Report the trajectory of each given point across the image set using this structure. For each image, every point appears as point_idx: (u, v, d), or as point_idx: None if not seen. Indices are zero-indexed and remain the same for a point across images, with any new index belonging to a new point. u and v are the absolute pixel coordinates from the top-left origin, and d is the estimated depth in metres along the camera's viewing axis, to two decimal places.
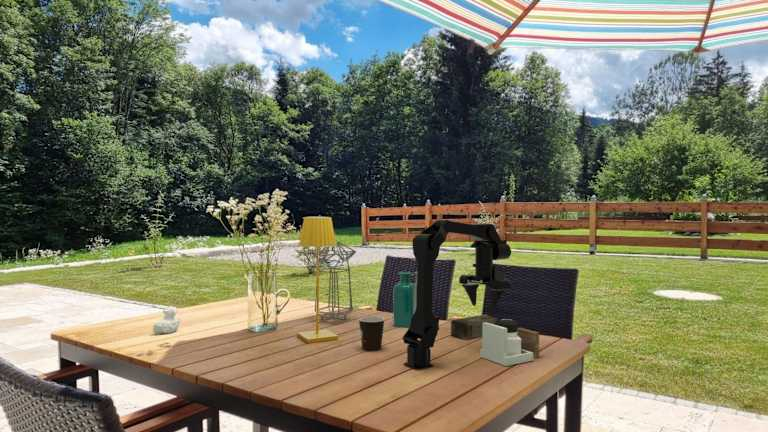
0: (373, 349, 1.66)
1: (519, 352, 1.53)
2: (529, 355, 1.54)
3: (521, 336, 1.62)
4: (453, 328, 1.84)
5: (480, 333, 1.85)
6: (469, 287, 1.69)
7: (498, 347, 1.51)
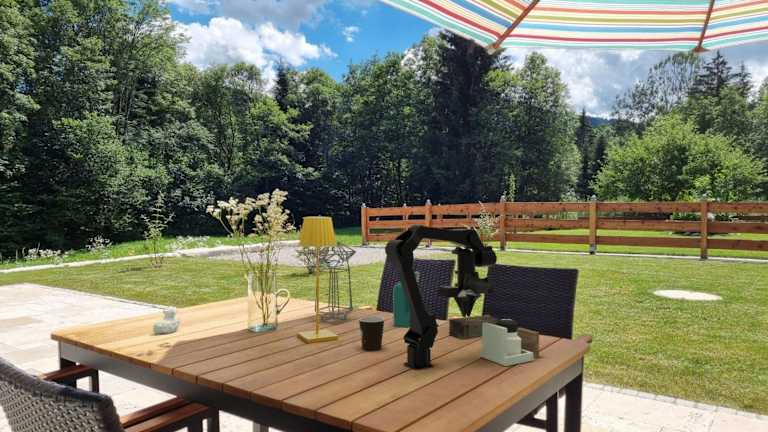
0: (373, 349, 1.66)
1: (519, 352, 1.53)
2: (529, 355, 1.54)
3: (521, 336, 1.62)
4: (451, 327, 1.86)
5: (478, 333, 1.85)
6: (465, 296, 1.61)
7: (498, 348, 1.51)
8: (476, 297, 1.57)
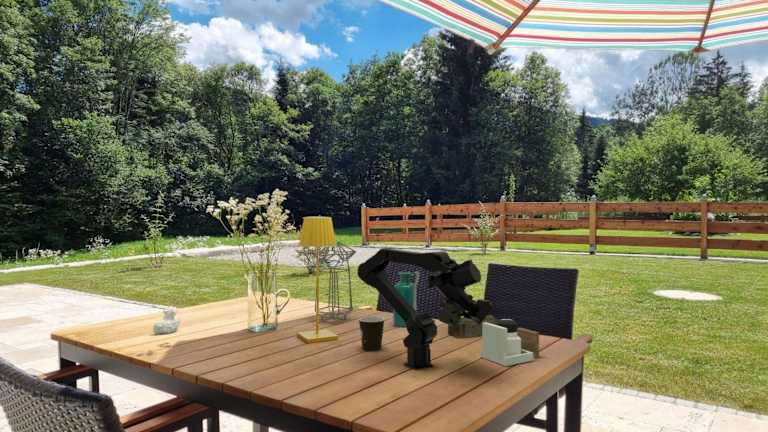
0: (373, 349, 1.66)
1: (519, 352, 1.53)
2: (529, 355, 1.54)
3: (521, 336, 1.62)
4: (449, 326, 1.88)
5: (476, 333, 1.85)
6: None
7: (498, 348, 1.51)
8: None
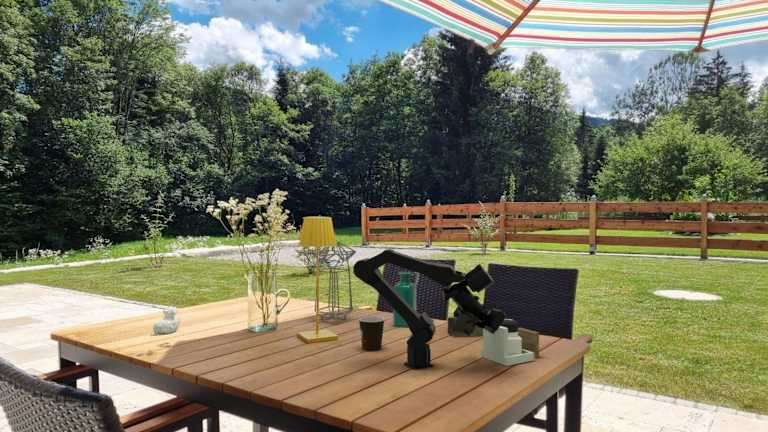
0: (373, 349, 1.66)
1: (520, 352, 1.53)
2: (530, 355, 1.54)
3: (521, 336, 1.62)
4: (448, 325, 1.89)
5: (474, 333, 1.85)
6: None
7: (499, 347, 1.52)
8: None
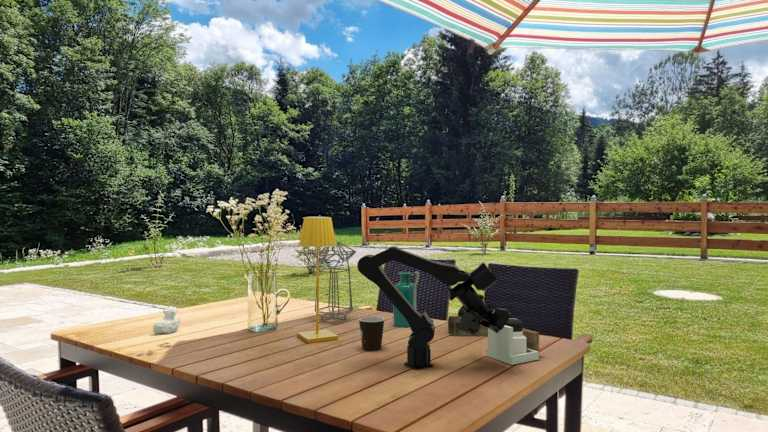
0: (373, 349, 1.66)
1: (524, 351, 1.54)
2: (534, 354, 1.55)
3: None
4: None
5: None
6: None
7: (504, 346, 1.53)
8: None
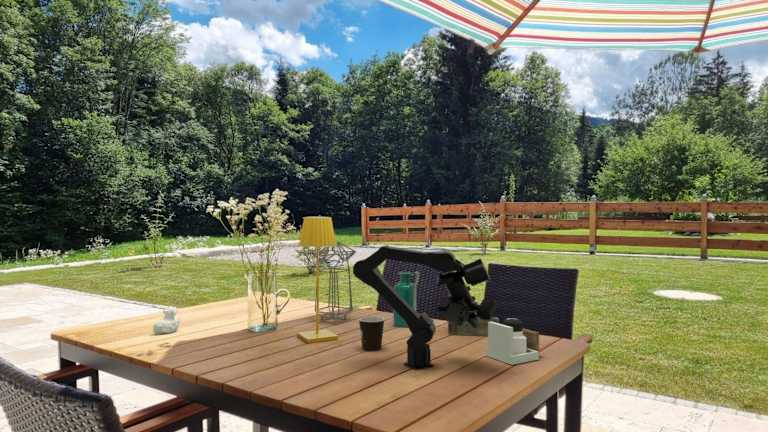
0: (373, 349, 1.66)
1: (524, 351, 1.54)
2: (534, 354, 1.55)
3: None
4: None
5: (470, 332, 1.86)
6: None
7: (504, 346, 1.53)
8: (468, 318, 1.50)
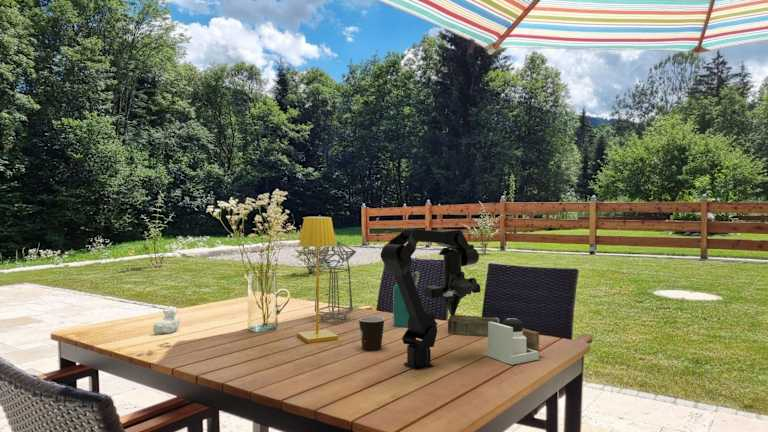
0: (373, 349, 1.66)
1: (524, 351, 1.54)
2: (534, 354, 1.55)
3: None
4: None
5: (469, 332, 1.87)
6: None
7: (504, 346, 1.53)
8: (460, 297, 1.59)
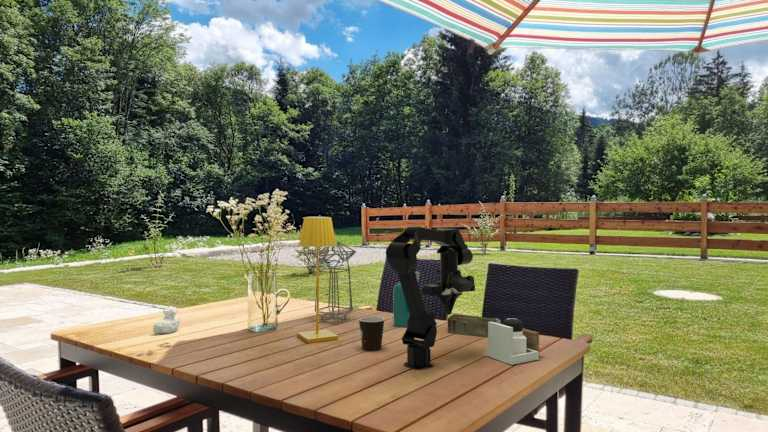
0: (373, 349, 1.66)
1: (524, 351, 1.54)
2: (534, 354, 1.55)
3: None
4: None
5: (467, 331, 1.87)
6: None
7: (504, 346, 1.53)
8: (457, 295, 1.61)
